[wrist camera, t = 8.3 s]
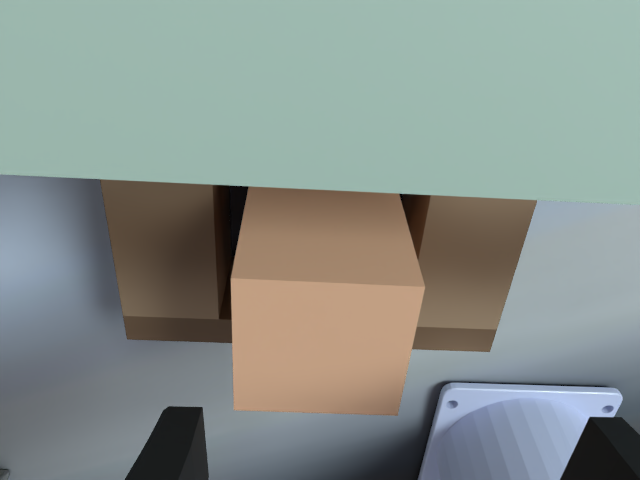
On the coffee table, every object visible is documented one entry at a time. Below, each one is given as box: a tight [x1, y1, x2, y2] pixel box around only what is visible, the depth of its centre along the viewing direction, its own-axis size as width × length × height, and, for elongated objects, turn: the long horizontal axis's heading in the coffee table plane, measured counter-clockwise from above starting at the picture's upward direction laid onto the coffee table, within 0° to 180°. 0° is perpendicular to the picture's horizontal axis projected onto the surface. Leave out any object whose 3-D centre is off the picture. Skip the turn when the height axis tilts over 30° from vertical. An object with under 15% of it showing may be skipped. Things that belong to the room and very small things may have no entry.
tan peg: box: [231, 186, 425, 416], centre depth 16 cm, size 4×4×8 cm
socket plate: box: [100, 179, 537, 352], centre depth 17 cm, size 12×12×4 cm
